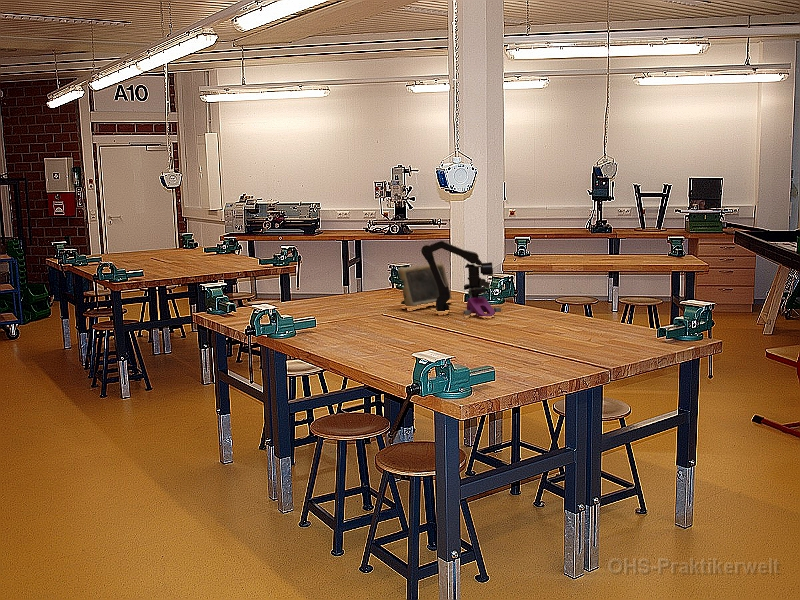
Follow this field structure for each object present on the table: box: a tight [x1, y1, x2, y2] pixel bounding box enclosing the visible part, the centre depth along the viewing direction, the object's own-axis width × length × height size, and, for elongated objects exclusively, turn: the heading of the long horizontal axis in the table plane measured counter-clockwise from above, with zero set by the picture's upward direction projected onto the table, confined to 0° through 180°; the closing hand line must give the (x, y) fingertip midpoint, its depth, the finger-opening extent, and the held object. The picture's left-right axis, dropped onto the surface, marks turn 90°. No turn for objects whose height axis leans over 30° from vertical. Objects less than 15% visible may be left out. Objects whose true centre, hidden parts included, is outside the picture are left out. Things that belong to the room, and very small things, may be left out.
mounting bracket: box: [466, 295, 495, 317], centre depth 435 cm, size 10×8×18 cm
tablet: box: [397, 261, 453, 306], centre depth 473 cm, size 33×14×25 cm, turn 133°
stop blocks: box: [462, 306, 502, 315], centre depth 434 cm, size 20×3×4 cm, turn 104°
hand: (475, 304), depth 444 cm, fingers closed
